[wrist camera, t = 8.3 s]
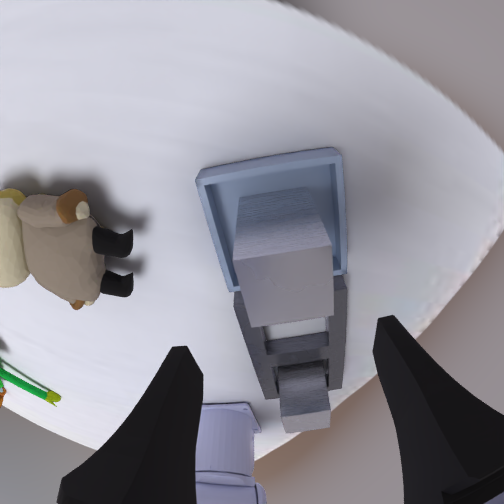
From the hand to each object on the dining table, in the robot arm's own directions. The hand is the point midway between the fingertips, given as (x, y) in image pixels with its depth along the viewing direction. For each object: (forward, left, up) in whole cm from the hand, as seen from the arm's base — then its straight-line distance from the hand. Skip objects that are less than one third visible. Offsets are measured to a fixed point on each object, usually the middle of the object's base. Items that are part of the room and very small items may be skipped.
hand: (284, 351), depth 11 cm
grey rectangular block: (-15, 0, -10) cm, 18 cm away
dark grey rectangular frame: (-12, -1, -10) cm, 15 cm away
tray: (+1, 0, -10) cm, 10 cm away
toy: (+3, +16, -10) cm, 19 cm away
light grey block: (+1, 0, -9) cm, 9 cm away
